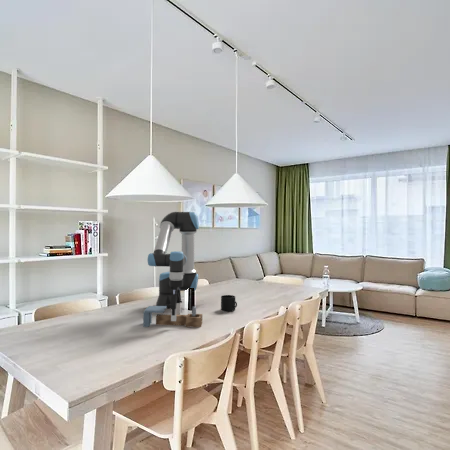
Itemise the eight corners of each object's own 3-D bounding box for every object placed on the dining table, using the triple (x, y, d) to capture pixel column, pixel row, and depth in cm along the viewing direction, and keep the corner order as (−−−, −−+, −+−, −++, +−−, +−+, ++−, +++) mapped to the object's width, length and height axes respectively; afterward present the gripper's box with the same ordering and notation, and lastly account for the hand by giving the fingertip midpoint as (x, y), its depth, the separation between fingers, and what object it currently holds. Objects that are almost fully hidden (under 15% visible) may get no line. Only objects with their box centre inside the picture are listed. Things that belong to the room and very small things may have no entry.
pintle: (190, 324, 184) (190, 306, 184) (193, 323, 186) (193, 306, 186) (194, 325, 182) (194, 307, 182) (196, 324, 184) (196, 306, 185)
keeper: (166, 321, 189) (166, 306, 189) (163, 327, 178) (163, 310, 178) (146, 321, 189) (147, 305, 189) (142, 327, 178) (142, 310, 178)
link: (154, 326, 181) (154, 316, 181) (158, 321, 189) (158, 313, 189) (200, 327, 180) (201, 317, 180) (202, 322, 188) (202, 313, 188)
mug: (232, 313, 210) (232, 299, 210) (217, 310, 217) (218, 296, 218) (241, 310, 217) (241, 296, 217) (227, 307, 225) (227, 294, 225)
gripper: (179, 283, 172) (178, 324, 172) (186, 276, 197) (185, 312, 197) (165, 282, 172) (164, 323, 172) (173, 276, 197) (173, 311, 197)
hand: (175, 317), depth 184 cm, fingers open, 13 cm apart
